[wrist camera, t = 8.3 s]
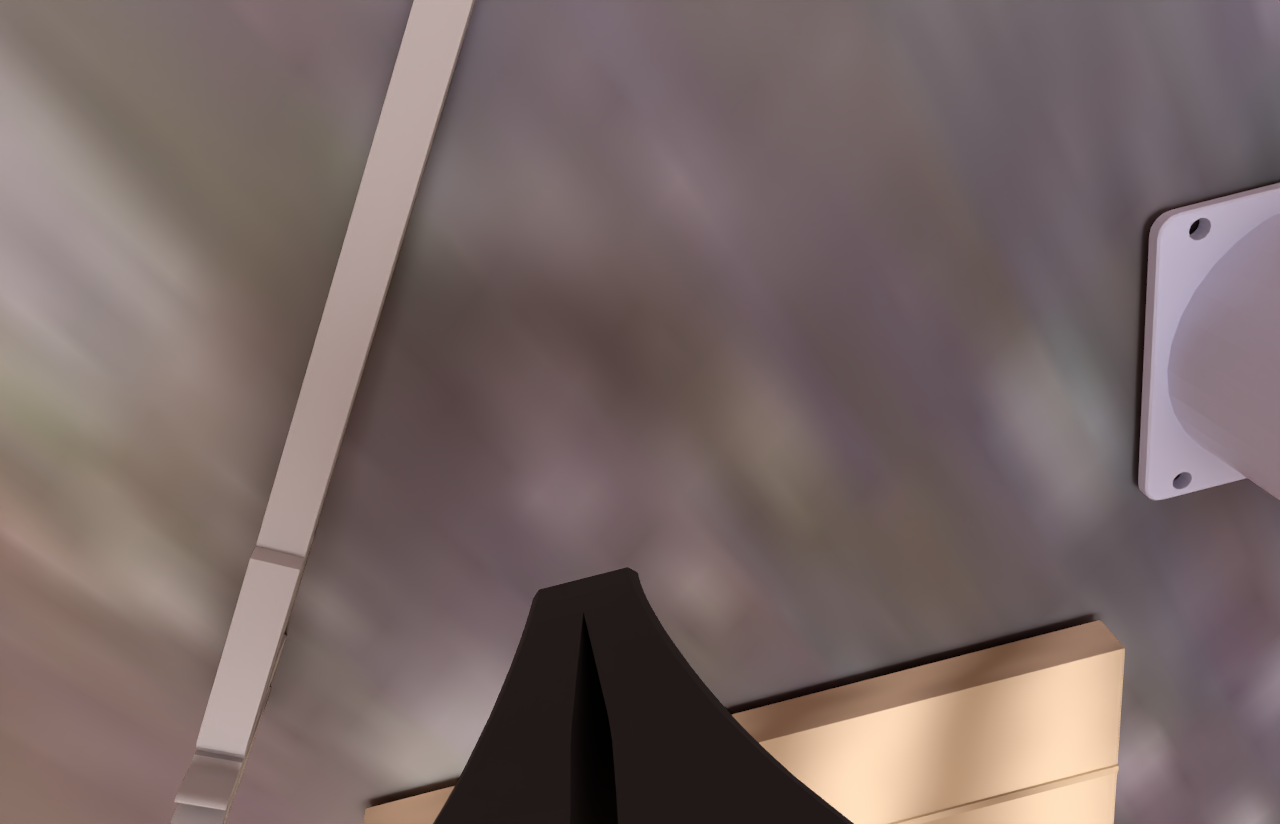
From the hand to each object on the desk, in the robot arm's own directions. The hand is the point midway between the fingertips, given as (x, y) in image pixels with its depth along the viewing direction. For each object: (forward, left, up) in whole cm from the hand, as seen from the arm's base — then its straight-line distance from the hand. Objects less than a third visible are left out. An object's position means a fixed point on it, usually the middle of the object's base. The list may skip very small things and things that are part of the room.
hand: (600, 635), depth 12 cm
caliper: (+5, -1, -10) cm, 12 cm away
